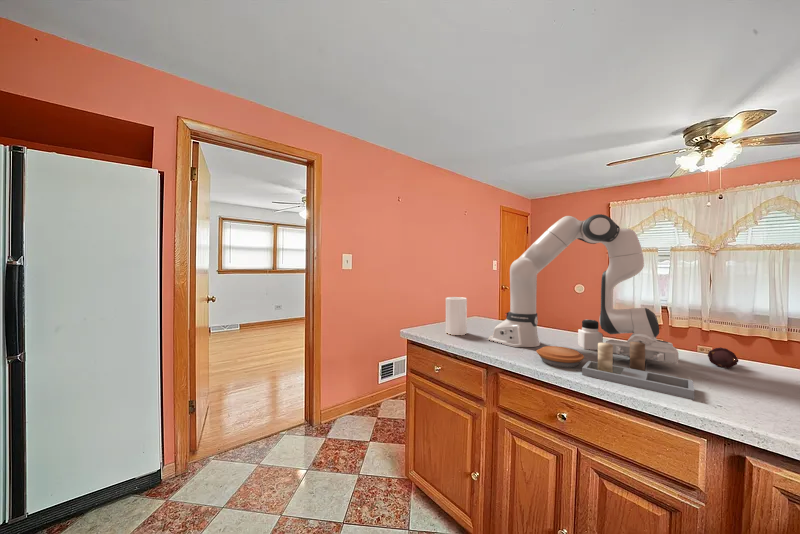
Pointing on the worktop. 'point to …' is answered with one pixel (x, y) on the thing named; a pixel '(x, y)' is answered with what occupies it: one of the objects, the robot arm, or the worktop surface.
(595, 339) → the medicine bottle
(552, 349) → the pie
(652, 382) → the rack
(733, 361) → the dark brown oval piece
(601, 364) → the birch dowel
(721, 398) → the worktop surface
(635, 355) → the walnut dowel
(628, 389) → the worktop surface
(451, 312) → the cup
